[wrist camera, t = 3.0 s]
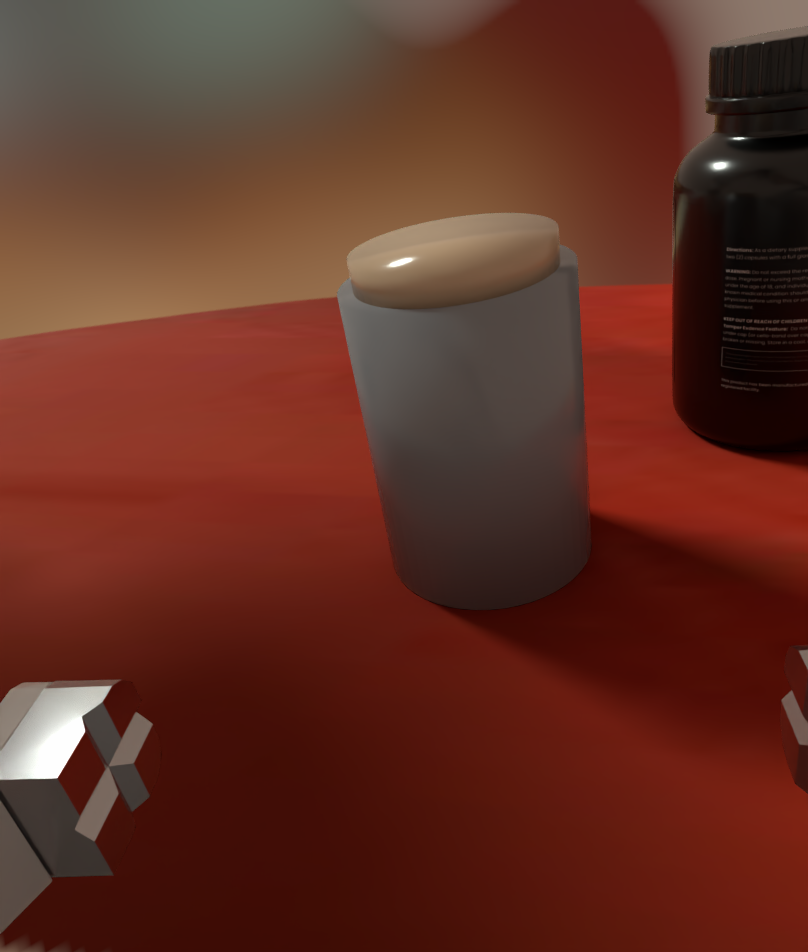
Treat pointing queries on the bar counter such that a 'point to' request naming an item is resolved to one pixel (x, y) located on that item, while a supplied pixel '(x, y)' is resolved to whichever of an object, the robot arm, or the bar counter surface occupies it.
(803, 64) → the supplement bottle
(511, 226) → the sugar jar
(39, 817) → the robot arm
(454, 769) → the bar counter surface
